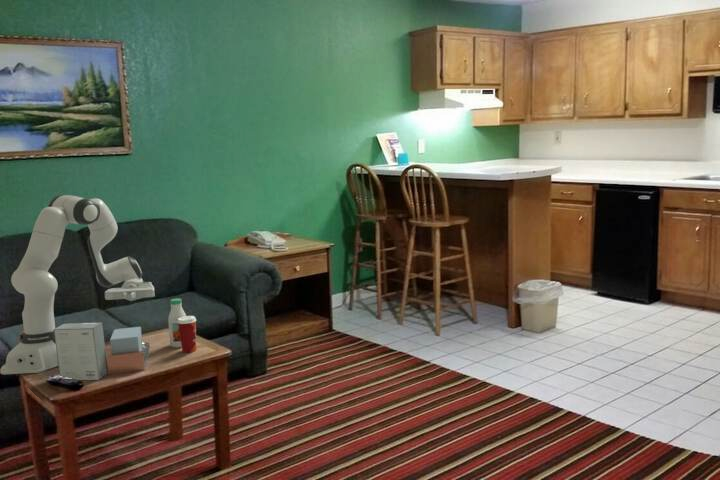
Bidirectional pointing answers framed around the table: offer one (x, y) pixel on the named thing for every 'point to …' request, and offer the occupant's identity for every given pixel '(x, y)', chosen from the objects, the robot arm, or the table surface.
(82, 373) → the hard drive box
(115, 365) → the roller conveyor
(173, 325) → the milk bottle
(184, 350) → the paper cup
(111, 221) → the robot arm
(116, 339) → the light blue box
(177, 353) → the table surface
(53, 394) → the table surface
